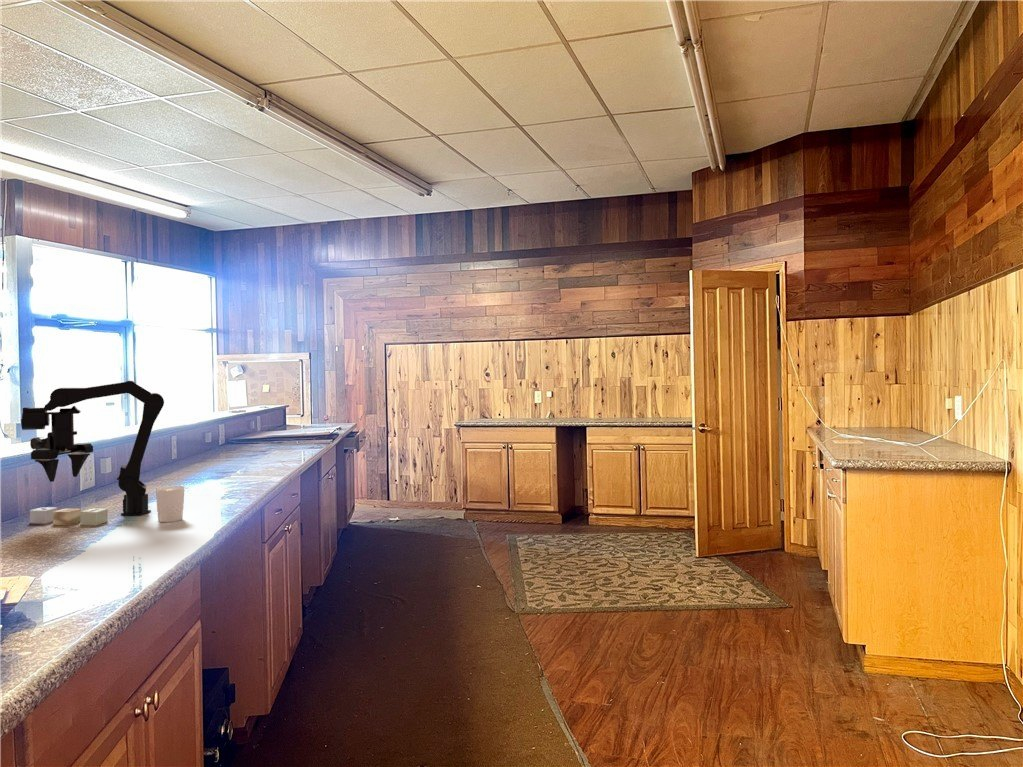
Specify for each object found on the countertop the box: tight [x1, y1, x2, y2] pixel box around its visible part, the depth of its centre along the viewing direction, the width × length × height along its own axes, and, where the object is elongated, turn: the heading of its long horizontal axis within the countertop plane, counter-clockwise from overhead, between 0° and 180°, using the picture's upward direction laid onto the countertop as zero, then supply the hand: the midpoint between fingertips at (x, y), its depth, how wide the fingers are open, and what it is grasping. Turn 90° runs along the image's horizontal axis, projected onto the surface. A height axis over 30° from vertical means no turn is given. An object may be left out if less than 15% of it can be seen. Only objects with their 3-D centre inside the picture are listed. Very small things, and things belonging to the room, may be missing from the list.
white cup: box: [155, 485, 185, 523], centre depth 216 cm, size 8×8×10 cm
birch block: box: [52, 508, 82, 526], centre depth 210 cm, size 5×5×4 cm
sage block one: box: [80, 508, 109, 526], centre depth 211 cm, size 5×5×4 cm
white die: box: [29, 506, 59, 525], centre depth 212 cm, size 5×5×4 cm
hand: (63, 479), depth 215 cm, fingers open, 9 cm apart
